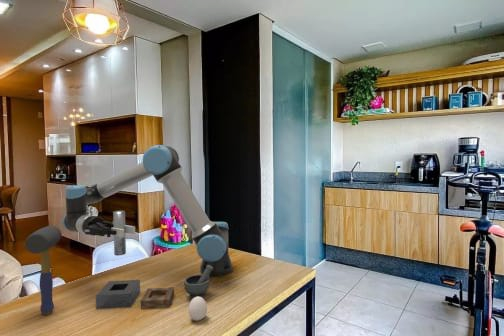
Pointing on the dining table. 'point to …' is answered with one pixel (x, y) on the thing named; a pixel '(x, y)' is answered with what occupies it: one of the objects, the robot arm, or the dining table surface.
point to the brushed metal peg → (118, 241)
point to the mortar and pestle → (198, 284)
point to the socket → (118, 294)
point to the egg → (197, 308)
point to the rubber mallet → (44, 261)
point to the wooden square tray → (157, 298)
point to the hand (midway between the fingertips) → (128, 231)
